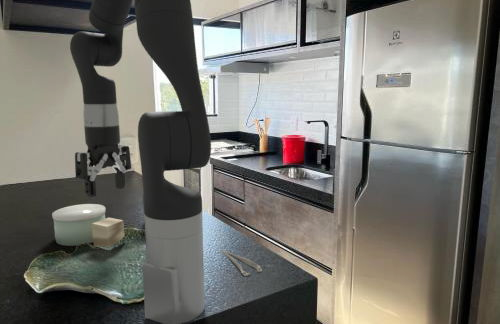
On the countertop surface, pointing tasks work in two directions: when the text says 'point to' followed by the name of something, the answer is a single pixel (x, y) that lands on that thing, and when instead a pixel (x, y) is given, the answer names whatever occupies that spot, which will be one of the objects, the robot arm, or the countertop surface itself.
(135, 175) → the countertop surface
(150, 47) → the robot arm
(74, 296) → the countertop surface
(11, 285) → the countertop surface
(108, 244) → the beech block
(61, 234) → the round lidded container
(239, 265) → the tweezers
